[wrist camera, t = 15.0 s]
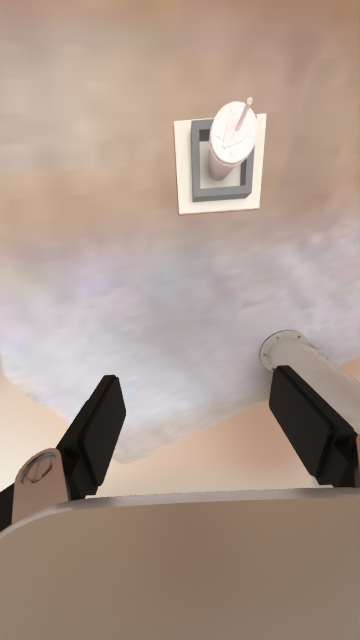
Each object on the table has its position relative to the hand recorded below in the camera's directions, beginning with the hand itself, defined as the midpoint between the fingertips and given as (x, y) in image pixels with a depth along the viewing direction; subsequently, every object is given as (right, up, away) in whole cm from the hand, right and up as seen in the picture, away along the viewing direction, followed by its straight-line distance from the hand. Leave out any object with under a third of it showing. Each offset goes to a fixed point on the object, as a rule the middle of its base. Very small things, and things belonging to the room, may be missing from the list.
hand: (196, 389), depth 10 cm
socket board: (+6, +33, +23) cm, 40 cm away
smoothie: (+6, +33, +22) cm, 40 cm away
